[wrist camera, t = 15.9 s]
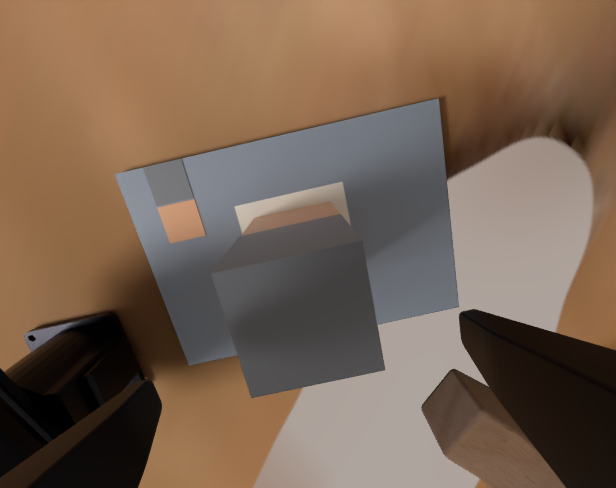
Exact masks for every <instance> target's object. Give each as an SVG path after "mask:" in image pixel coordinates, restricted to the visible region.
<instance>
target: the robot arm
mask: <svg viewBox="0 0 616 488" xmlns="http://www.w3.org/2000/svg"><path fill="white" fill-rule="evenodd" d="M107 318H109V319H110V320H111V322H110V321H108V319H107ZM459 321H460V322H459V323H460V333H461V340H462V343H463V345H464V347H465V349H466V350H467V352H468V354H469V355H470V357H471V358H472V360H473V362H474V363H475V365H476V366H477V368H478V370H479V371H480V373H481V374H482V376H483V378H484V379H485V381H486V383H487V384H488V386H489V387H490V389H491V390H492V392H493V393H494V395H495V396H496V398H497V399H498V400H499V402H500V403H501V404H502V406H503V407H504V408H505V409H506V411H507V412H508V413H509V415H510V416H511V417H512V419H513V420H514V421H515V422H516V424H517V425H518V426H519V428H520V429H521V430H522V431H523V433H524V434H525V435H526V437H527V438H528V439H529V441H530V442H531V443H532V444H533V446H534V447H535V448H536V450H537V451H538V452H539V453H540V455H541V456H542V457H543V459H544V460H545V461H546V463H547V464H548V465H549V466H550V468H551V469H552V470H553V472H554V473H555V474H556V475H557V477H558V478H559V479H560V481H561V482H562V483H563V485H564V486H565V487H566V488H616V350H613V349H609V348H606V347H603V346H599V345H596V344H592V343H589V342H585V341H582V340H579V339H575V338H572V337H568V336H565V335H561V334H558V333H555V332H551V331H548V330H544V329H541V328H538V327H534V326H530V325H527V324H524V323H520V322H517V321H513V320H510V319H507V318H503V317H500V316H496V315H493V314H490V313H486V312H483V311H479V310H476V309H472V310H468V311H463V312H461V313H460V314H459ZM34 336H35V337H34ZM24 338H25V341H26V342H27V344H28V346H29V348H30V350H31V353H30V354H28V355H27V356H25V357H24V358H23V359H21V360H20V361H18V362H17V363H16V364H14V365H13V366H12V367H10V368H9V369H7V370H6V371H5V372H4V371H3V370H2V369H1V368H0V488H138V486H139V484H140V481H141V478H142V476H143V473H144V470H145V467H146V464H147V460H148V457H149V454H150V450H151V447H152V443H153V439H154V436H155V432H156V429H157V425H158V422H159V418H160V414H161V410H162V403H161V400H160V398H159V395H158V393H157V391H156V388H155V386H154V384H153V382H152V381H151V380H145V378H144V376H143V373H142V371H141V369H140V366H139V363H138V361H137V359H136V357H135V354H134V352H133V350H132V347H131V345H130V343H129V341H128V339H127V337H126V335H125V332H124V330H123V328H122V326H121V323H120V321H119V319H118V317H117V315H116V314H114V313H112V312H108V313H103V314H99V315H94V316H90V317H85V318H81V319H76V320H72V321H67V322H63V323H58V324H54V325H49V326H45V327H40V328H36V329H32V330H30V331H29V332H27V333H26V334H25V336H24Z"/></svg>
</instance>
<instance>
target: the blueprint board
mask: <svg viewBox="0 0 616 488" xmlns="http://www.w3.org/2000/svg"><path fill="white" fill-rule="evenodd" d="M115 176H116V179H117V182H118V184H119V187H120V189H121V192H122V194H123V197H124V200H125V202H126V205H127V207H128V210H129V213H130V215H131V218H132V220H133V223H134V225H135V228H136V231H137V233H138V236H139V238H140V241H141V243H142V246H143V249H144V251H145V254H146V256H147V259H148V262H149V264H150V267H151V269H152V272H153V274H154V277H155V280H156V282H157V285H158V287H159V290H160V292H161V295H162V298H163V300H164V303H165V305H166V308H167V310H168V313H169V316H170V318H171V321H172V323H173V326H174V329H175V331H176V334H177V336H178V339H179V341H180V344H181V347H182V349H183V352H184V354H185V357H186V359H187V362H188V365H189V366H190V365H194V364H199V363H203V362H208V361H213V360H217V359H222V358H226V357H231V356H236V355H237V352H236V349H235V346H234V343H233V340H232V337H231V334H230V331H229V328H228V325H227V321H226V318H225V315H224V312H223V309H222V306H221V303H220V300H219V297H218V294H217V291H216V288H215V285H214V282H213V279H212V276H211V273H212V272H213V270H214V269H215V268H216V266H217V265H218V264H219V262H220V261H221V260H222V258H223V257H224V256H225V254H226V253H227V252H228V250H229V249H230V248H231V246H232V245H233V244H234V242H235V241H236V240H237V238H238V237H239V236H241V235H242V234H243V232H244V231H245V230H246V228H247V227H248V226H249V224H250V223H251V222H252V220H253V219H254V218H258V217H262V216H267V215H271V214H276V213H280V212H285V211H289V210H294V209H298V208H303V207H307V206H311V205H316V204H320V203H325V202H329V201H330V202H331V203H332V204H333V205H334V207H335V208H336V209H337V210H338V212H339V213H340V214H341V215H342V216H343V217H344V218H345V220H346V221H347V222H348V223H349V225H350V226H351V227H352V228H353V229H354V231H355V232H356V233H357V234H358V236H359V237H360V238H361V239H362V241H363V246H364V252H365V258H366V263H367V269H368V275H369V281H370V286H371V292H372V298H373V303H374V309H375V315H376V320H377V325H378V324H383V323H387V322H392V321H396V320H401V319H406V318H410V317H415V316H420V315H424V314H429V313H433V312H438V311H443V310H447V309H452V308H456V307H459V303H458V293H457V283H456V272H455V261H454V252H453V240H452V230H451V220H450V209H449V199H448V189H447V178H446V168H445V158H444V147H443V137H442V127H441V116H440V106H439V98H437V99H433V100H429V101H425V102H420V103H416V104H412V105H407V106H403V107H399V108H395V109H390V110H386V111H382V112H378V113H373V114H369V115H365V116H361V117H356V118H352V119H348V120H344V121H339V122H335V123H331V124H327V125H322V126H318V127H314V128H309V129H305V130H301V131H297V132H292V133H288V134H284V135H280V136H275V137H271V138H267V139H263V140H258V141H254V142H250V143H246V144H241V145H237V146H233V147H229V148H224V149H220V150H216V151H211V152H207V153H203V154H199V155H194V156H190V157H186V158H182V159H177V160H173V161H169V162H164V163H160V164H156V165H152V166H147V167H143V168H139V169H135V170H131V171H126V172H122V173H118V174H115Z"/></svg>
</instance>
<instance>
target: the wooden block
mask: <svg viewBox="0 0 616 488" xmlns="http://www.w3.org/2000/svg"><path fill="white" fill-rule="evenodd" d="M422 412H423V414H424V416H425V418H426V419H427V421H428V424H429V426H430V428H431V430H432V432H433V434H434V436H435V438H436V440H437V442H438V444H439V446H440V447H441V450H442V452H443V454H444V455H445V456H446V457H447V458H448V459H449V460H451V461H453V462H454V463H456V464H458V465H459V466H461V467H462V468H464V469H466V470H468V471H469V472H471V473H472V474H474V475H476V476H477V477H479V478H480V479H481V480H482V481H483V482H484V483H485V484H486V485H487V486H488V487H489V488H566V487H565V486H564V485H563V483H562V482H561V481H560V479H559V478H558V477H557V475H556V474H555V473H554V472H553V470H552V469H551V468H550V466H549V465H548V464H547V463H546V461H545V460H544V459H543V457H542V456H541V455H540V453H539V452H538V451H537V450H536V448H535V447H534V446H533V444H532V443H531V442H530V441H529V439H528V438H527V437H526V435H525V434H524V433H523V431H522V430H521V429H520V428H519V426H518V425H517V424H516V422H515V421H514V420H513V419H512V417H511V416H510V415H509V413H508V412H507V411H506V409H505V408H504V407H503V406H502V404H501V403H500V402H499V400H498V399H497V398H496V396H495V395H494V393H493V392H492V390H491V389H490V387H488V386H486V385H484V384H482V383H480V382H479V381H477V380H475V379H473V378H471V377H469V376H467V375H465V374H463V373H462V372H459V371H458V370H456V369H452V370H450V371H449V372H448V374H447V375H446V376H445V377H444V379H443V380H442V381H441V382H440V384H439V385H438V386H437V387H436V389H435V390H434V391H433V392H432V393H431V395H430V396H429V397H428V398H427V400H426V401H425V402H424V404H423V405H422Z"/></svg>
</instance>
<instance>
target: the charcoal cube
mask: <svg viewBox="0 0 616 488" xmlns="http://www.w3.org/2000/svg"><path fill="white" fill-rule="evenodd" d="M211 276H212V279H213V282H214V285H215V288H216V291H217V294H218V297H219V300H220V303H221V306H222V309H223V312H224V315H225V318H226V321H227V325H228V328H229V331H230V334H231V337H232V340H233V343H234V346H235V349H236V352H237V355H238V358H239V361H240V364H241V367H242V370H243V373H244V376H245V380H246V383H247V386H248V389H249V392H250V395H251V398H254V397H259V396H264V395H269V394H273V393H278V392H283V391H288V390H292V389H297V388H302V387H307V386H312V385H316V384H321V383H326V382H330V381H335V380H340V379H345V378H350V377H354V376H359V375H364V374H369V373H374V372H378V371H383V370H385V366H384V360H383V354H382V349H381V343H380V337H379V332H378V326H377V320H376V315H375V309H374V303H373V298H372V292H371V286H370V281H369V275H368V269H367V263H366V258H365V252H364V246H363V241H362V239H361V238H360V237H359V236H358V234H357V233H356V232H355V231H354V229H353V228H352V227H351V226H350V225H349V223H348V222H347V221H346V220H345V218H344V217H343V216H342V215H341V214H337V215H333V216H328V217H324V218H319V219H315V220H310V221H306V222H301V223H297V224H292V225H288V226H283V227H279V228H274V229H270V230H265V231H261V232H256V233H252V234H247V235H243V236H239V237H238V238H237V240H236V241H235V242H234V244H233V245H232V246H231V248H230V249H229V250H228V252H227V253H226V254H225V256H224V257H223V258H222V260H221V261H220V262H219V264H218V265H217V266H216V268H215V269H214V270H213V272H212V273H211Z"/></svg>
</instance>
